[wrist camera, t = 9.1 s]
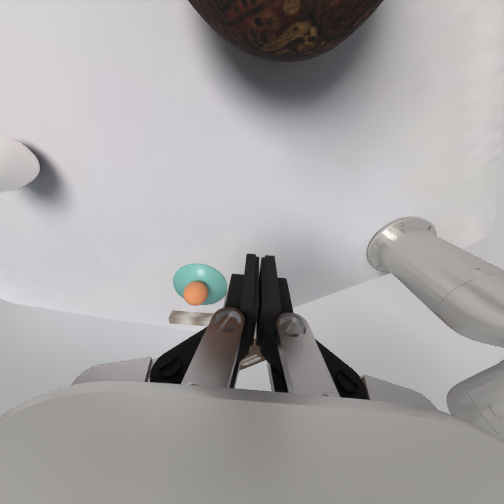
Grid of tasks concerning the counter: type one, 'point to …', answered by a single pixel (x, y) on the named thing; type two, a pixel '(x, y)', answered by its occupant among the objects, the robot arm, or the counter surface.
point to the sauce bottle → (16, 164)
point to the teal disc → (204, 275)
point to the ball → (195, 293)
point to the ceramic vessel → (285, 24)
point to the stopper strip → (190, 318)
